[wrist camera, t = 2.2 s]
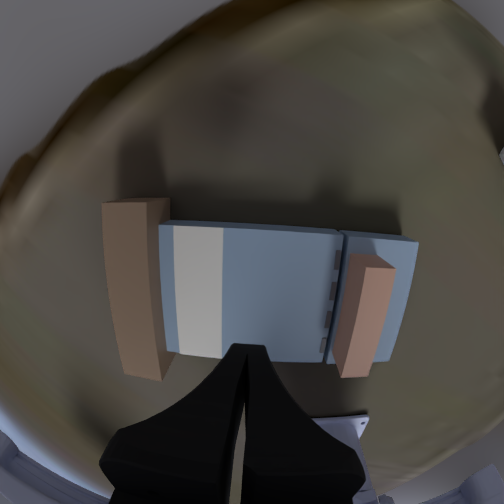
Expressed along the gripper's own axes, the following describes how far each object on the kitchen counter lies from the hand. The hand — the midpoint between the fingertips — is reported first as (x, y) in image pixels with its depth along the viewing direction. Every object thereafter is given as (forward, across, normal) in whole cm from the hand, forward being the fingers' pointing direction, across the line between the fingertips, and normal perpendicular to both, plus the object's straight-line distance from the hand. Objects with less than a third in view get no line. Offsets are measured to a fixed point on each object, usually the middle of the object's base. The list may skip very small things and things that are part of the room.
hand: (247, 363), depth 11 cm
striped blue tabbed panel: (+8, +2, 0) cm, 9 cm away
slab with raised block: (+8, -8, 0) cm, 12 cm away
